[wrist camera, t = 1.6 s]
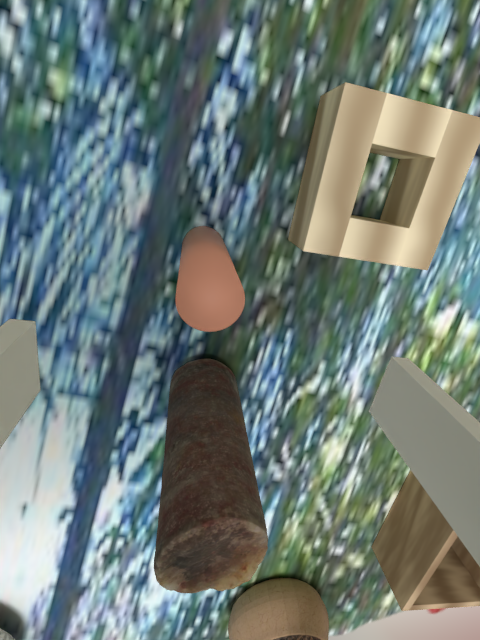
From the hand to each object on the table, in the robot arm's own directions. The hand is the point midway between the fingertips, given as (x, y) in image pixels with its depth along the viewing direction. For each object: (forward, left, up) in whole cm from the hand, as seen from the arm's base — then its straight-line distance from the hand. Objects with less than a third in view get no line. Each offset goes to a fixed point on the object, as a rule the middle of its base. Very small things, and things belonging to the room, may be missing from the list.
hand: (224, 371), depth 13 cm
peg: (0, 0, -22) cm, 22 cm away
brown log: (+2, -15, -22) cm, 26 cm away
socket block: (+14, +8, -21) cm, 27 cm away
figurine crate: (+42, -36, -22) cm, 59 cm away
